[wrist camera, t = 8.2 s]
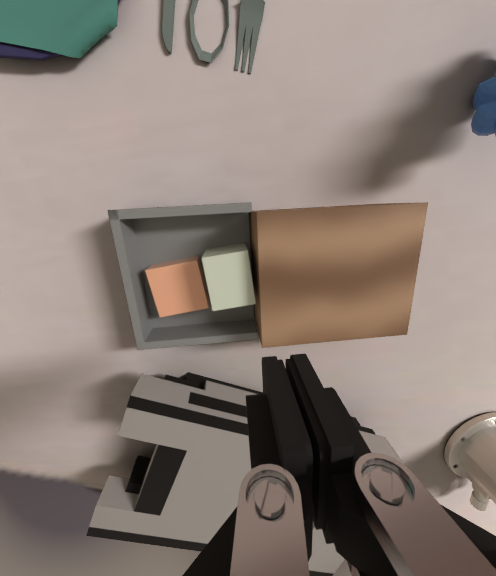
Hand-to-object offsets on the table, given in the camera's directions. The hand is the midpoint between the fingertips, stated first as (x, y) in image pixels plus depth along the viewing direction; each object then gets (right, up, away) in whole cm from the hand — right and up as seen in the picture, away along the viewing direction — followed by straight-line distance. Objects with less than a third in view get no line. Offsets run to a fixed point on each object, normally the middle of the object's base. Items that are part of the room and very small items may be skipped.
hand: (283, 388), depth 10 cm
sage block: (-1, +6, +15) cm, 16 cm away
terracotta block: (-8, +4, +15) cm, 18 cm away
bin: (-7, +6, +18) cm, 20 cm away
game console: (-2, -19, +27) cm, 33 cm away
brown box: (+6, +7, +19) cm, 21 cm away
